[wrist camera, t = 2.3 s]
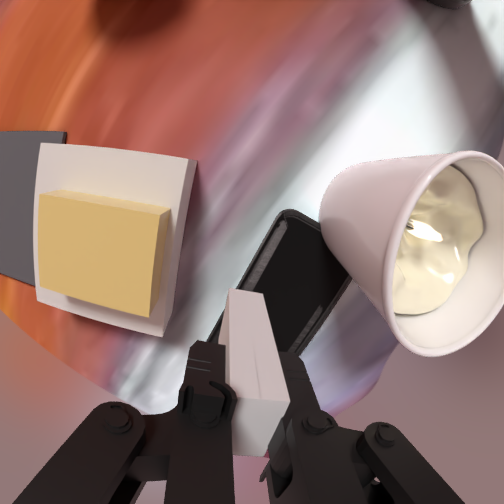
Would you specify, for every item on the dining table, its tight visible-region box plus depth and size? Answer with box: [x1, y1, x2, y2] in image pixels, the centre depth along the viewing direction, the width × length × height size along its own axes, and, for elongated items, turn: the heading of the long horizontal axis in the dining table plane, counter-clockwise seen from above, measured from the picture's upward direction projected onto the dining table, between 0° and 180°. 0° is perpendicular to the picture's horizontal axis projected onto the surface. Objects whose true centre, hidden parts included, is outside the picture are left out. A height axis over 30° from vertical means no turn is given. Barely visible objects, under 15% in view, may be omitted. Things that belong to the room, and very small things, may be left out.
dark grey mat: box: [0, 131, 67, 286], centre depth 18 cm, size 12×14×1 cm
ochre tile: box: [38, 189, 171, 318], centre depth 15 cm, size 8×6×2 cm
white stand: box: [33, 143, 197, 337], centre depth 18 cm, size 11×12×4 cm
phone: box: [206, 209, 352, 357], centre depth 23 cm, size 8×1×15 cm
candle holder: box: [319, 150, 504, 357], centre depth 15 cm, size 10×10×12 cm
